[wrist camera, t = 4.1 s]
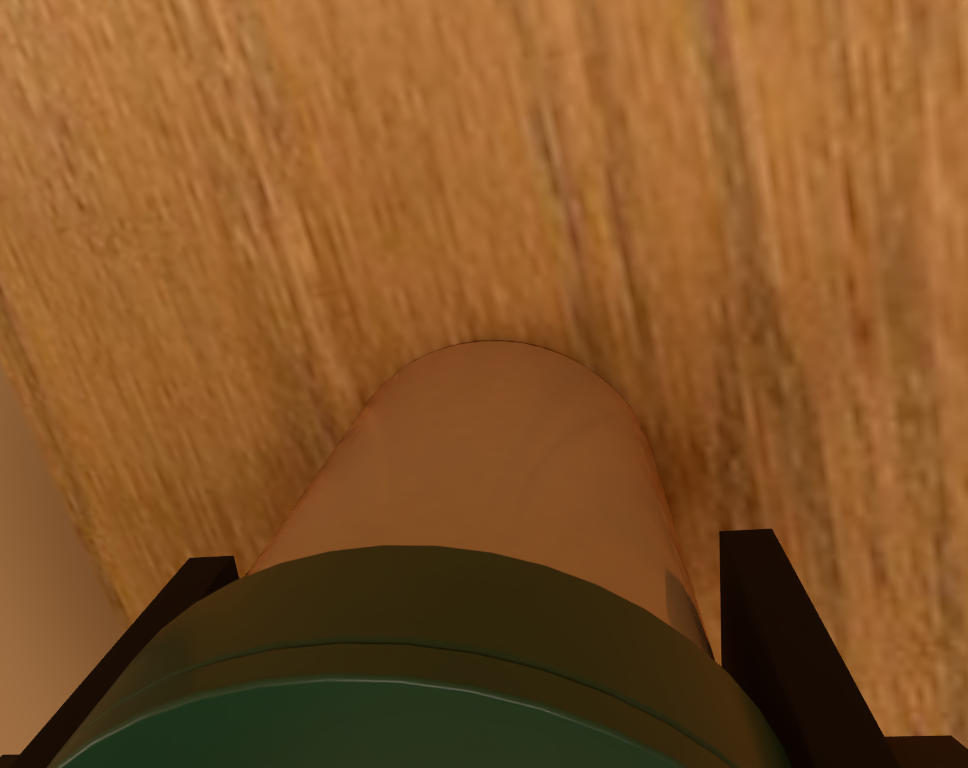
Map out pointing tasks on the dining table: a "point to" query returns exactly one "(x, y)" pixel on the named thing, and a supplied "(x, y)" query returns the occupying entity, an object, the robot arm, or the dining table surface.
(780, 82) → the dining table surface
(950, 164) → the dining table surface
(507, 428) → the jar
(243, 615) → the jar lid
